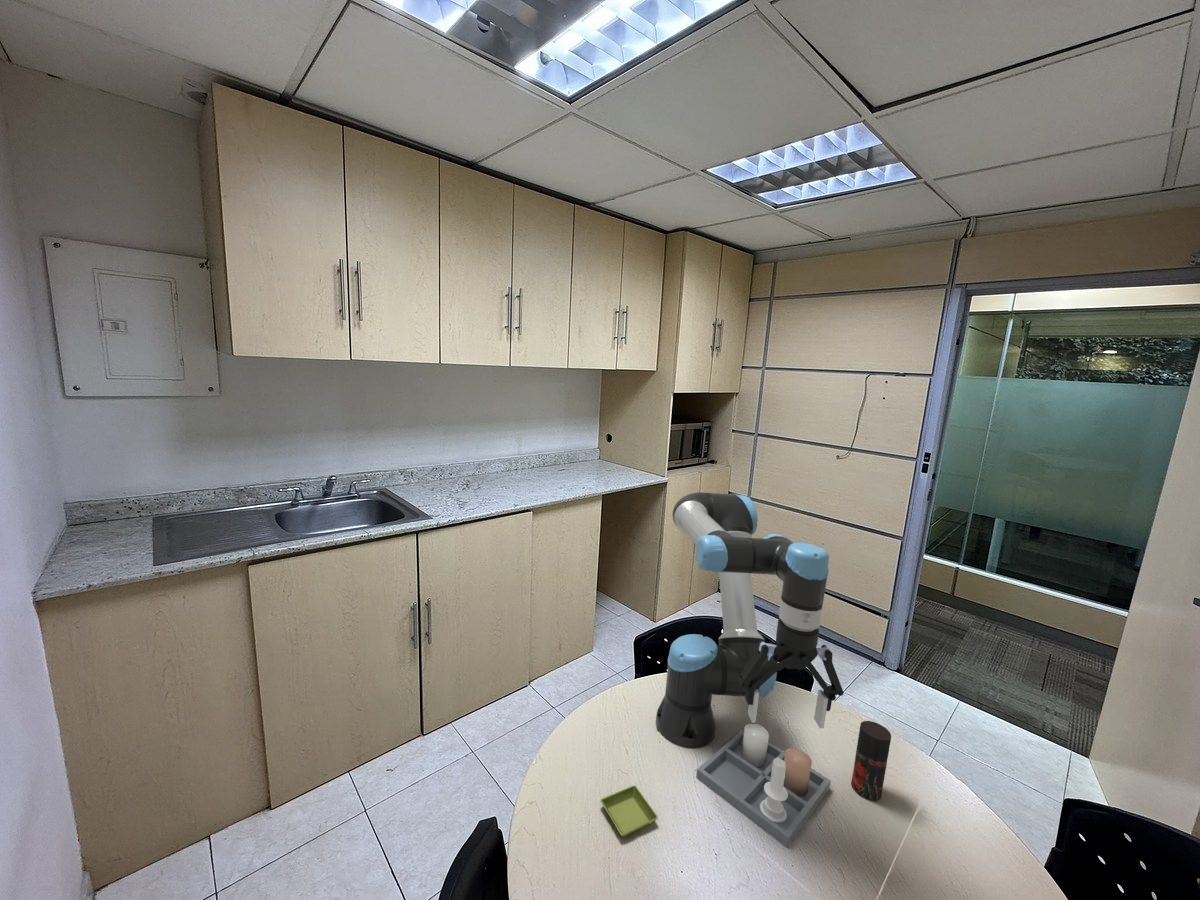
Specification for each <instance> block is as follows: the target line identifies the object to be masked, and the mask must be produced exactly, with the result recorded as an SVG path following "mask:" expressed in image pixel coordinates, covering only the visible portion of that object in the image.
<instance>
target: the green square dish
mask: <svg viewBox="0 0 1200 900" xmlns="http://www.w3.org/2000/svg"><path fill="white" fill-rule="evenodd" d="M600 803H601V805H602V807H603V808H604V810H605V811H606V813H607V816H608V817H609V818H610V819H611V821H612V823H613V824H614V826H615V828H616V829H617V831H618V833H619V834H620V836H622V837H625V836H627V835H630V834H631V833H634V832H636V831H639V830H640V829H642V828H645V826H648V825H650V824H652V823H655V821H656V820H658V819H659V817H658V814H657V813H656V812H655V810H654V809H653V808H652V806H651V805H650V804H649V803H648V800H646V798H645V796H644V795H643V793H642V792H641V791H640V790H639V788H638V787H637V786H636V785H630V786H629V787H626V788H623V789H621V790H619V791H617V792H614V793H611V794H610V795H607V796H605V797H602V798H601V799H600Z"/></svg>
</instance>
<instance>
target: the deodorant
mask: <svg viewBox="0 0 1200 900" xmlns="http://www.w3.org/2000/svg"><path fill="white" fill-rule="evenodd" d="M891 740H892V733H891V731H890V730H889V729H887V728H886V727H885V726H883V725H882V724H880V723H878V722H875V721H872V720H864V721H861V722H860V725H859V732H858V738H857V745H856V751H855V757H854V763H853V770H852V776H851V782H850V785H851V788H852V789H853V791H854V792H855V793H856V794H857V795H858V796H860V797H861V798H862V799H865V800H867V801H869V802H879V801H880V800H881V798H882V794H883V788H884V782H885V778H886V777H885V776H886V770H887V765H888V758H889V754H890V753H889V752H890V746H891Z"/></svg>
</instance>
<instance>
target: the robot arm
mask: <svg viewBox="0 0 1200 900" xmlns="http://www.w3.org/2000/svg"><path fill="white" fill-rule="evenodd" d="M671 516H672V520H673V522H674V525H675V526H676V527H677V529H678V530H679V531H680V532H681V533H684V534H687V535H688V536H689V538H690V539H691V541H693V543H694V545H695V559H696V561H697V566H698V568H700V570H702V571H705V572H706V571H707V572H713V573H718V576H719V577H718V578H719V589H720V601H721V602H720V603H721V613H722V615H721V616H722V625H723V632H722V634H721V635H720V636H719V637H718V644H717V643H716V641H714V640H713V639H712V638H711V637H708V636H704V635H702V634H699V633H698V634H697V633H693V634H692V633H691V634H690V633H689V634H685V635H682V636H679V637H678V638H676V639H675V640H673V642H672V643H671V645H670V648H669V654H668V658H667V672H666V683H665V692H664V695H663V698H662V700H661V701H660V704H659V707H658V709H657V711H656V714H655V715H656V716H655V726H656V729H657V731H658V732H659V734H660V735H661V736H663V738H664V739H666V740H667V741H669V742H670V743H671V744H674V745H676V746H679V747H682V748H687V749H701V748H704V747H706V746H708V745H709V744H710V743H712V742H713V740H714V738H715V735H716V729H717V727H716V726H717V725H716V720H715V718H714V713H713V707H712V698H713V696H726V697H727V696H728V697H744V699H745V701H746V703H747V705H748V708H747V709H748V710H747V715H748V718H749V719H750V722H751V724H757V723H756V722H757V721H756V720H757V713H758V708H759V707H758V706H759V705H758V704H759V698H760V697H767V696H769V695H770V694H771V693H772V692H773V690H774V688H775V684H776V681H777V675H778V672H781V671H783V669H784V668H785V669H787V670H792V669H793V670H794V669H795V670H799V671H803V670H804V669H805V668H806V669H808V671H809V673H810V674H811V675H812V676H813V678H814V679H815V681H817V683H818V685H819V686H820V687H821V689H818V690H817V698H816V705H815V708H814V709H815V710H814V717H813V720H815V722H816V724H817V726H818V728H819V729H824V728H825V722H826V715H827V712H830V711H831V710H832V709H831V708H832V702H833V701H835V700H836V699H837V697H836V696H839V697H842V696H843V695H844V690H843V687H842V685H841V681H840V679H839V677H838V674H837V671H836V668H835V666H834V663H833V652H832V651H831V650H830V649H829V647H828V646H827V645H826V644H823V645H821V646H820V647H817V646H818V643H819V641H818V640H819V633H820V629H819V628H820V626H821V621H822V619H821V618H822V612H823V605H824V599H825V594H826V587H827V579H828V576H829V572H830V571H829V563H830V561H829V560H830V556H829V553H828V552H827V550H825V549H824V548H823V547H821V546H817V545H815V544H811V543H806V542H794V541H793V540H791V539H790V538H787V537H786V536H784V535H782V534H778V533H771V534H768V535H766V536H764V537H763V538H761V537H759V538H758V537H753V536H752V535H754V534H755V533H756V532H757V528H758V518H759V517H758V512H757V507H756V506H755V503H754V502H753V501H752V499H751V498H749V497H748V496H747V495H742V494H737V493H716V492H715V493H713V492H702V491H699V492H698V491H697V492H693V493H689V494H687V495H684V496H682V497H681V498H680V499H679V500H678V501H677V502H676V503H675V505H674V506H673V510H672V515H671ZM752 574H753V575H754V574H755V575H769V576H770V575H772V576H773V575H774V576H776V577H777V578H778V579H780V580H781V581H782V588H781V597H780V604H779V610H778V611H779V612H778V617H779V618H778V620H777V625H776V634H775V641H774V643H773V644H772V643H767V642H765V637H763V636H762V635H761V634H760V633H759V632H758V624H757V617H756V608H755V601H754V599H755V598H754V593H753V591H754V589H753V582H752ZM817 657H819V658H820V659H821V661H822V664H823V667H824V669H825V672H826V675H827V677H828V680H829V682H830V685H828V684H827V682H826V681H825V680H824V678H823V677H822V675H821V674H820V672H818V670H817V669H816V667H815V666H814V664H813V662H814V660H815V659H816V658H817Z"/></svg>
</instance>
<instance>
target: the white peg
mask: <svg viewBox="0 0 1200 900" xmlns="http://www.w3.org/2000/svg"><path fill="white" fill-rule="evenodd" d="M785 771H786V763H785V761H783V760H782V759H780V758H778V757H777V758H775V759H774V760H773V765H772V772H771V780H770V782H767V783H765V785H764V790H765V792H766V794H767V795H768V796H769V797H767V798H766V799H765V800H763V801H762V802H761V803H760V810H761V812H762V814H763V815H765V816H766V817H768V818H769V819H770V820H772V821H773V822H776V823H781V822H784V821H785V820H786V818H787V813H786V810H785V809H784V807H783V804H782V803H781V801H784V800H786V799H787V798H788V793H787V791H786V789H785V788H784V787H783V785H784V779H785Z"/></svg>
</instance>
